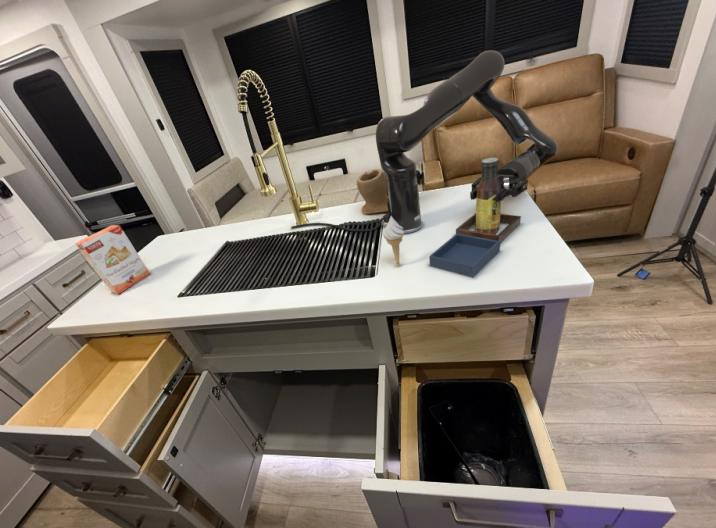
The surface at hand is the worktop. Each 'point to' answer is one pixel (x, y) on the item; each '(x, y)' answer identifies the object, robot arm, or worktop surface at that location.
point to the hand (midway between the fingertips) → (484, 197)
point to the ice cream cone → (394, 237)
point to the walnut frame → (504, 218)
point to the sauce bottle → (488, 198)
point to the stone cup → (373, 191)
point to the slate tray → (465, 254)
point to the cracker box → (113, 258)
